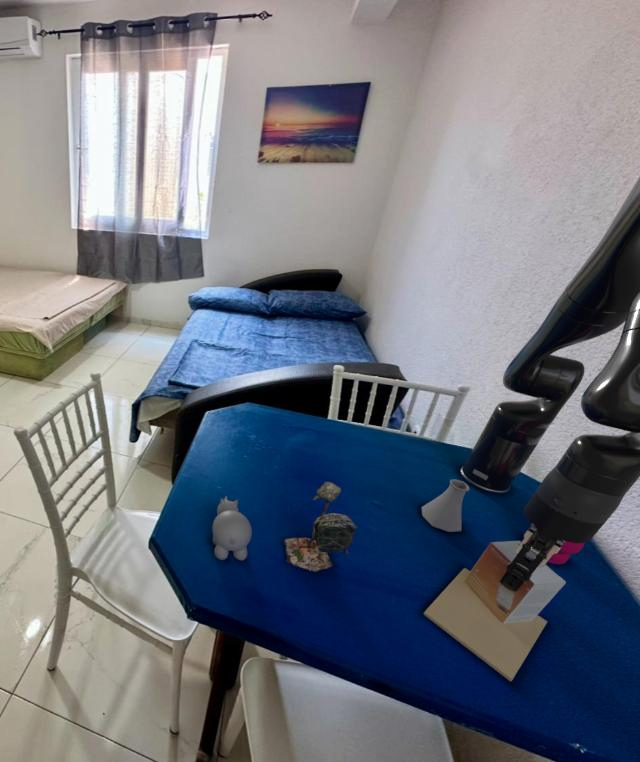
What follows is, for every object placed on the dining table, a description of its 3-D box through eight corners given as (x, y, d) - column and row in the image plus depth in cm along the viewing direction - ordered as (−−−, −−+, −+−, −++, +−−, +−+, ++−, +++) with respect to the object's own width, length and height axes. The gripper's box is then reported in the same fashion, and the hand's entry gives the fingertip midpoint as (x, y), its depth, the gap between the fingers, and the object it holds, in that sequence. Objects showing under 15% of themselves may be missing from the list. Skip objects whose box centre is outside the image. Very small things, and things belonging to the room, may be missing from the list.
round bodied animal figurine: (240, 517, 86) (247, 486, 82) (249, 566, 76) (258, 534, 72) (206, 513, 87) (211, 483, 83) (210, 562, 76) (216, 530, 72)
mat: (463, 569, 76) (464, 567, 76) (545, 623, 68) (547, 621, 67) (422, 614, 68) (424, 612, 68) (510, 681, 60) (512, 679, 59)
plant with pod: (347, 585, 73) (384, 503, 63) (281, 564, 76) (307, 484, 67) (343, 549, 80) (376, 471, 70) (282, 532, 83) (306, 455, 73)
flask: (467, 536, 83) (490, 500, 79) (429, 529, 85) (448, 494, 80) (450, 510, 90) (470, 475, 85) (415, 504, 91) (432, 470, 86)
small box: (462, 580, 74) (489, 540, 69) (491, 578, 74) (519, 539, 69) (502, 624, 67) (534, 584, 62) (533, 622, 67) (567, 582, 62)
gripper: (594, 541, 53) (530, 616, 61) (620, 499, 60) (560, 571, 68) (522, 504, 58) (472, 577, 66) (553, 469, 65) (505, 539, 73)
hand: (517, 574), depth 67 cm, fingers closed on small box, 7 cm apart
